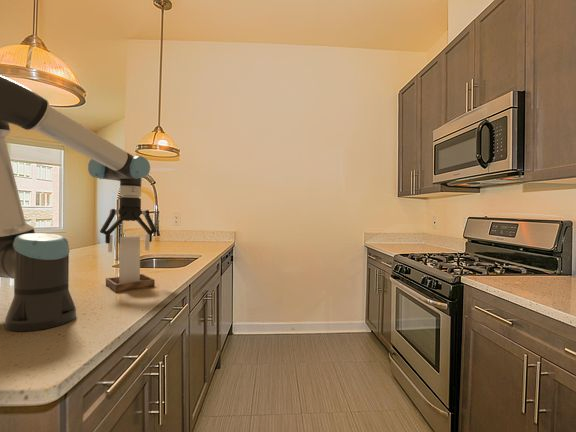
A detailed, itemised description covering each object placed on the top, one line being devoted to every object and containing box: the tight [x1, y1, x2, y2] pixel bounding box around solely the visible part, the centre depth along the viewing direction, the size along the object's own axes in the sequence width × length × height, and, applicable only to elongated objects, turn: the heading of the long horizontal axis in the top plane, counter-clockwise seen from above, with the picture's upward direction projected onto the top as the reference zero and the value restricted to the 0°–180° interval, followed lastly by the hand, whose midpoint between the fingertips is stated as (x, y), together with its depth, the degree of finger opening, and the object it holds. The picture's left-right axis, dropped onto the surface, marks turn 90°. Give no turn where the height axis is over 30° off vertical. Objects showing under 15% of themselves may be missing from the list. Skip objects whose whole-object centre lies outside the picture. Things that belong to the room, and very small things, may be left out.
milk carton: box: [118, 236, 141, 284], centre depth 126 cm, size 7×7×19 cm
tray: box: [105, 273, 156, 293], centre depth 126 cm, size 14×14×3 cm
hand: (129, 251), depth 125 cm, fingers open, 13 cm apart
